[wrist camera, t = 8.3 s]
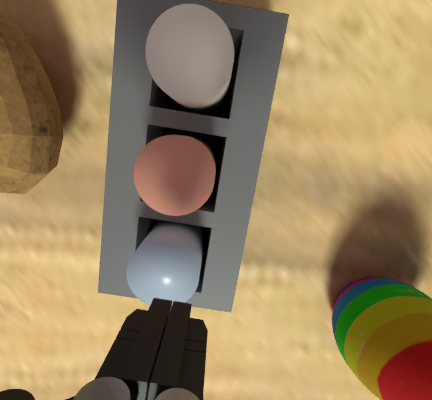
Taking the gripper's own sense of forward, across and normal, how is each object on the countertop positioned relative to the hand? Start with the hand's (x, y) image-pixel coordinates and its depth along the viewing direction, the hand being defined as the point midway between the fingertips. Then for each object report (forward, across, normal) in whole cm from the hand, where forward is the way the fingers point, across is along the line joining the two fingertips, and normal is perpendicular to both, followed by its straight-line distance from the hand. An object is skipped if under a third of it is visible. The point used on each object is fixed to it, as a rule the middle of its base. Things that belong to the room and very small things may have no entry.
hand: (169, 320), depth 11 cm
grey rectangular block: (+13, +1, -5) cm, 14 cm away
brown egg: (+10, +1, -5) cm, 11 cm away
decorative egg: (+13, -16, +6) cm, 22 cm away
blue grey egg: (+10, +1, +1) cm, 10 cm away
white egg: (+10, +1, -10) cm, 15 cm away
